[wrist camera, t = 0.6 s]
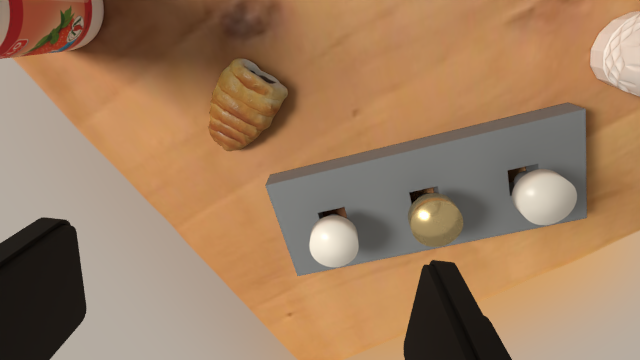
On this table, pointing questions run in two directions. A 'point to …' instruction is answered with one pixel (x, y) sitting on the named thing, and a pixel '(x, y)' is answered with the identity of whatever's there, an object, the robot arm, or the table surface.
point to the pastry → (243, 104)
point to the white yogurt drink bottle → (47, 25)
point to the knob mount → (432, 183)
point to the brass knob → (435, 220)
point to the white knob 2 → (543, 196)
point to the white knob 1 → (334, 241)
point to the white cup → (619, 53)
